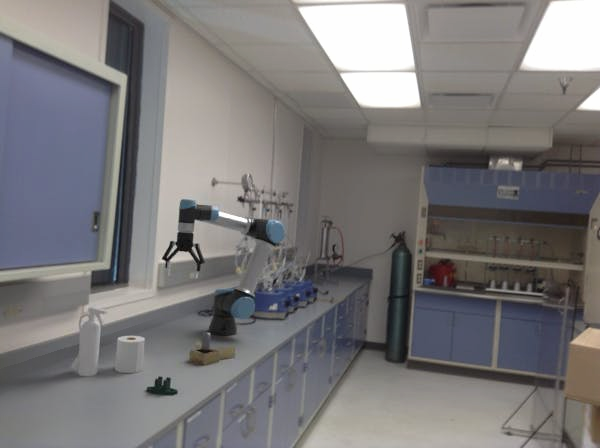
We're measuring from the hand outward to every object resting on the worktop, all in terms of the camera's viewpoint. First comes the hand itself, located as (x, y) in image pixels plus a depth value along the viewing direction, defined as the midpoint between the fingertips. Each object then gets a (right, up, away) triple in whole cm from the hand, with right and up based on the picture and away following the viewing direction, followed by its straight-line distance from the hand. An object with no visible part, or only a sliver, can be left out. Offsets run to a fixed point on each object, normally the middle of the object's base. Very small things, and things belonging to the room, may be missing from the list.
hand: (182, 276), depth 249 cm
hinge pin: (+15, -34, -24) cm, 44 cm away
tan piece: (+14, -33, -17) cm, 40 cm away
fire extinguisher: (-24, -31, -52) cm, 65 cm away
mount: (+8, -34, -65) cm, 74 cm away
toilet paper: (-11, -32, -43) cm, 55 cm away
